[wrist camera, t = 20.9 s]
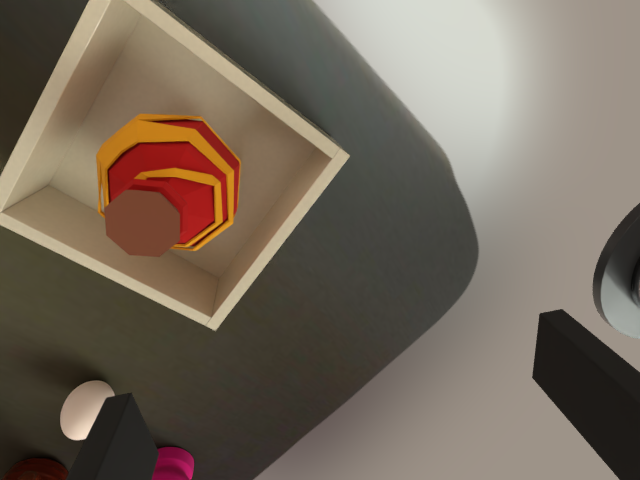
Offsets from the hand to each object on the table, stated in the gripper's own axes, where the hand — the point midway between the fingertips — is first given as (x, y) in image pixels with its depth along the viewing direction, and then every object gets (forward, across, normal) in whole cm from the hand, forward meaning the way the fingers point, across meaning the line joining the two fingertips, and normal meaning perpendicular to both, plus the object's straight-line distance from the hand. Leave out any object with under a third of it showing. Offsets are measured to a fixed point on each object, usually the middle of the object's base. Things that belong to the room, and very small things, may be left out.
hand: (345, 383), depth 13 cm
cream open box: (+27, -9, +3) cm, 29 cm away
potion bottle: (+27, -9, +3) cm, 28 cm away
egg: (+28, -26, -20) cm, 43 cm away
